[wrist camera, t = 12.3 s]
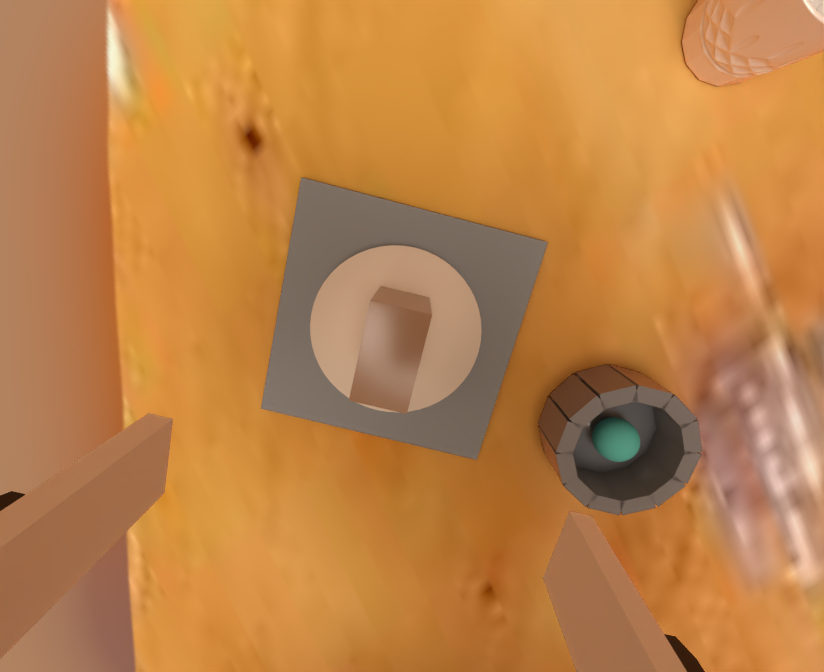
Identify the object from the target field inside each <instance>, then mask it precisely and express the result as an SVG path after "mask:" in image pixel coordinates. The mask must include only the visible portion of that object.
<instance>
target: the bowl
mask: <svg viewBox="0 0 824 672" xmlns="http://www.w3.org/2000/svg"><path fill="white" fill-rule="evenodd" d="M575 373H576V374H575V375H574V374H572V375H571V376H570V377H568V378H567V379H566V380H565V381H564V382H563V383H562V384H560V385H559V386H558V387H557V388H556V389H555V390H554V391H552V392H551V393H550V395H551V396H550V397H549V396H548V398H547V400H546V403H545V406H544V409H543V411H542V414H541V417H540V420H539V423H538V424H539V426H538V427H539V432H540V436H541V441H542V445H543V449H544V452H545V454H546V456H547V458H548V459H549V461H550V463H551V465H552V467H553V468H554V470H555V472H556V474H557V475H558V477H559V479H560V481H561V482H562V484H563V486H564V487H565V488H566V489H567V490H568V491H569V492H570V493H571V494H573V495H574V496H575V497H576V498H577V499H578V500H579V501H580V502H581V503H582V504H583V505H584V506H585V507H586V506H587V507H588V508H590V509H595V510H599V511H603V512H607V513H612V514H616V515H620V513H621V514H622V515H626V514H630V513H635V512H639V511H644V510H648V509H653V508H655V504H656V505H657V506H660V505H661V504H662V503H664V502H665V501H666V500H668V499H669V498H670V497H672V496H673V495H674V494H676V493H677V492H678V491H680V490H681V489H682V488H684V487H685V485H684V484H683V483H687V484H688V482H689V480H690V477H691V475H692V473H693V471H694V469H695V467H696V465H697V463H698V461H699V459H700V457H701V453H699V452H702V447H701V439H700V431H699V423H698V420H696V419H697V418H696V417H695V416H694V415H693V413H692V412H691V411H690V410H689V409H688V408H687V407H686V406H685V405H684V404H683V403H682V402H681V401H680V400H679V399H678V397H677V396H676V395H674V394H673V393H671V392H670V391H668V390H666V389H665V388H663V387H662V386H660V385H659V384H657V383H656V382H654V381H652V380H651V379H649V378H648V377H646V376H645V375H643V374H641V373H640V372H637V371H633V370H629V369H625V368H621V367H617V366H614V365H610V364H609V366H608V365H602V366H598V367H594V368H590V369H586V370H582V371H578V372H575ZM612 417H615V418H621V419H624V420H626V421H628V422H629V423H631V424H632V425H633V426H634V427H635V428H636V430H637V432H638V434H639V437H640V447H639V450H638V452H637V453H636V455H635V456H634V457H632V458H631V459H629V460H627V461H623V462H615V461H611V460H608V459H606V458H604V457H603V456H601V455H600V454H599V453H598V452H597V450H596V449H595V447H594V445H593V441H592V434H593V430H594V428H595V426H596V425H597V424H598V423H599V422H600V421H602V420H604V419H606V418H612ZM682 482H683V483H682Z"/></svg>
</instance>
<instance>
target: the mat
mask: <svg viewBox="0 0 824 672" xmlns="http://www.w3.org/2000/svg"><path fill="white" fill-rule="evenodd" d="M547 244H548V242H545V241H541V240H538V239H534V238H530V237H526V236H522V235H519V234H515V233H511V232H507V231H503V230H500V229H496V228H492V227H488V226H484V225H481V224H477V223H473V222H469V221H465V220H462V219H458V218H454V217H450V216H446V215H443V214H439V213H435V212H431V211H427V210H424V209H420V208H416V207H412V206H408V205H405V204H401V203H397V202H393V201H390V200H386V199H382V198H378V197H374V196H371V195H367V194H363V193H359V192H355V191H352V190H348V189H344V188H340V187H336V186H333V185H329V184H325V183H321V182H317V181H314V180H310V179H306V178H302V177H301V182H300V188H299V194H298V199H297V205H296V211H295V217H294V222H293V228H292V234H291V240H290V245H289V251H288V257H287V263H286V268H285V274H284V280H283V286H282V291H281V297H280V303H279V309H278V314H277V320H276V326H275V332H274V337H273V343H272V349H271V355H270V360H269V366H268V372H267V378H266V383H265V389H264V395H263V401H262V406H261V409H265V410H269V411H274V412H278V413H282V414H286V415H290V416H295V417H299V418H303V419H307V420H311V421H316V422H320V423H324V424H328V425H332V426H337V427H341V428H345V429H349V430H353V431H358V432H362V433H366V434H370V435H374V436H379V437H383V438H387V439H391V440H395V441H400V442H404V443H408V444H412V445H416V446H421V447H425V448H429V449H433V450H437V451H442V452H446V453H450V454H454V455H458V456H463V457H467V458H471V459H475V460H477V458H478V454H479V451H480V448H481V445H482V442H483V439H484V436H485V433H486V430H487V427H488V424H489V421H490V418H491V415H492V412H493V409H494V406H495V402H496V399H497V396H498V393H499V390H500V387H501V384H502V381H503V378H504V375H505V372H506V369H507V366H508V363H509V360H510V357H511V354H512V351H513V347H514V344H515V341H516V338H517V335H518V332H519V329H520V326H521V323H522V320H523V317H524V314H525V311H526V308H527V305H528V302H529V299H530V296H531V292H532V289H533V286H534V283H535V280H536V277H537V274H538V271H539V268H540V265H541V262H542V259H543V256H544V253H545V250H546V247H547ZM388 245H405V246H410V247H416V248H419V249H422V250H425V251H428V252H430V253H432V254H434V255H436V256H438V257H440V258H441V259H443V260H444V261H446V262H447V263H448V264H449V265H451V266H452V267H453V268H454V269H455V270H456V271H457V272H458V273H459V274H460V275H461V276H462V278H463V279H464V280H465V281H466V283H467V284H468V286H469V287H470V289H471V291H472V293H473V295H474V297H475V299H476V302H477V305H478V308H479V312H480V318H481V330H482V332H481V343H480V348H479V352H478V355H477V358H476V361H475V363H474V365H473V367H472V369H471V371H470V373H469V374H468V376H467V377H466V378H465V380H464V381H463V382H462V383H461V384H460V386H459V387H458V388H457V389H456V390H455V391H453V392H452V393H451V394H450V395H449V396H447V397H446V398H444V399H442V400H441V401H439V402H437V403H435V404H433V405H431V406H429V407H426V408H423V409H420V410H415V411H410V412H407V414H405V413H401V412H385V411H379V410H375V409H371V408H368V407H365V406H363V405H361V404H358V403H356V402H353V401H349V398H348V397H346V396H345V395H344V394H343V393H341V392H340V391H339V390H338V389H337V388H336V387H335V386H334V385H333V384H332V383H331V382H330V381H329V380H328V378H327V377H326V376H325V374H324V373H323V371H322V369H321V368H320V366H319V364H318V362H317V359H316V357H315V354H314V351H313V348H312V343H311V336H310V320H311V312H312V308H313V305H314V301H315V299H316V296H317V294H318V292H319V290H320V288H321V286H322V285H323V283H324V282H325V280H326V279H327V278H328V276H329V275H330V274H331V273H332V272H333V271H334V270H335V269H336V268H337V267H338V266H339V265H340V264H342V263H343V262H345V261H346V260H347V259H349V258H351V257H352V256H354V255H356V254H358V253H360V252H363V251H366V250H368V249H371V248H376V247H380V246H388Z"/></svg>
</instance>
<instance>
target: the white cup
mask: <svg viewBox="0 0 824 672" xmlns="http://www.w3.org/2000/svg"><path fill="white" fill-rule="evenodd" d="M682 47H683V51H684V56H685V61H686V65H687V66H688V67H689V68H690V70H691V71H692V72H693V73H694V74H695V76H696V77H697V78H698V79H699V80H701V81H704V82H706V83H709V84H712V85H715V86H724V85H730V84H737V83H741V82H743V81H746V80H748V79H751V78H753V77H755V76H758V75H761V74H765V73H768V72H771V71H774V70H777V69H780V68H782V67H784V66H787V65H790V64H793V63H796V62H798V61H801V60H803V59H806V58H809V57H811V56H813V55H816V54H818V53H821V52H823V51H824V0H698V1H697V3H696V4H695V6H694V7H693V9H692V11H691V12H690V14H689V15H688V17H687V19H686V24H685V29H684V33H683V38H682Z"/></svg>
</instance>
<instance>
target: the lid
mask: <svg viewBox="0 0 824 672" xmlns="http://www.w3.org/2000/svg"><path fill="white" fill-rule="evenodd" d="M481 332H482V330H481V318H480V312H479V308H478V305H477V302H476V299H475V297H474V295H473V293H472V291H471V289H470V287H469V286H468V284H467V283H466V281H465V280H464V279H463V278H462V276H461V275H460V274H459V273H458V272H457V271H456V270H455V269H454V268H453V267H452V266H451V265H449V264H448V263H447V262H446V261H444V260H443V259H441V258H440V257H438V256H436V255H434V254H432V253H430V252H428V251H425V250H422V249H419V248H416V247H410V246H405V245H388V246H380V247H376V248H371V249H368V250H366V251H363V252H360V253H358V254H356V255H354V256H352V257H351V258H349V259H347V260H346V261H345V262H343V263H342V264H340V265H339V266H338V267H337V268H336V269H335V270H334V271H333V272H332V273H331V274H330V275H329V276H328V278H327V279H326V280H325V282H324V283H323V285H322V286H321V288H320V290H319V292H318V294H317V296H316V299H315V301H314V305H313V308H312V312H311V320H310V336H311V343H312V348H313V351H314V354H315V357H316V359H317V362H318V364H319V366H320V368H321V369H322V371H323V373H324V374H325V376H326V377H327V378H328V380H329V381H330V382H331V383H332V384H333V385H334V386H335V387H336V388H337V389H338V390H339V391H340V392H341V393H343V394H344V395H345V396H346V397H348V398H349V401H353V402H356V403H358V404H361V405H363V406H365V407H368V408H371V409H375V410H379V411H385V412H401V413H405V414H407V412H410V411H415V410H420V409H423V408H426V407H429V406H431V405H433V404H435V403H437V402H439V401H441V400H442V399H444V398H446V397H447V396H449V395H450V394H451V393H452V392H453V391H455V390H456V389H457V388H458V387H459V386H460V384H461V383H462V382H463V381H464V380H465V378H466V377H467V376H468V374H469V373H470V371H471V369H472V367H473V365H474V363H475V361H476V358H477V355H478V352H479V348H480V343H481Z"/></svg>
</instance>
